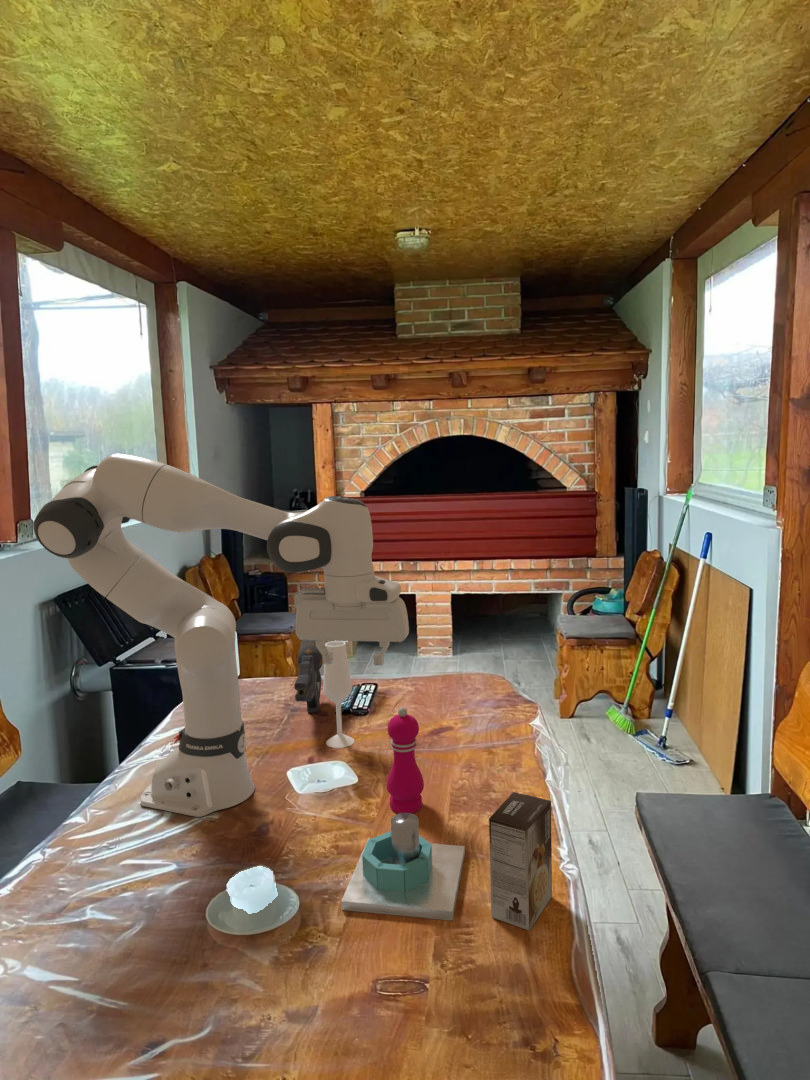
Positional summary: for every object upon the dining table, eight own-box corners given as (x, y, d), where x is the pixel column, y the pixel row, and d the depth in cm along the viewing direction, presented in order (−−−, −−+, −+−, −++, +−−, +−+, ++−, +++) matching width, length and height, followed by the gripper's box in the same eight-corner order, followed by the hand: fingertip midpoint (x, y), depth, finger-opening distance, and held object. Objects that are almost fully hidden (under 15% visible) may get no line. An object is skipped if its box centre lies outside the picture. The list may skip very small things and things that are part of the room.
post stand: (341, 910, 108) (338, 846, 107) (368, 846, 125) (365, 790, 123) (452, 920, 105) (450, 855, 103) (464, 854, 121) (463, 796, 120)
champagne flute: (359, 742, 167) (355, 644, 164) (334, 750, 164) (329, 649, 160) (345, 733, 173) (340, 638, 169) (320, 740, 169) (315, 643, 166)
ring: (358, 887, 111) (357, 866, 111) (373, 848, 121) (372, 829, 121) (424, 893, 109) (424, 872, 109) (435, 853, 119) (434, 834, 119)
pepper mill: (420, 817, 134) (417, 716, 131) (383, 814, 135) (379, 714, 132) (427, 797, 141) (424, 701, 138) (391, 795, 142) (388, 700, 139)
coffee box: (514, 884, 113) (513, 789, 111) (553, 896, 109) (552, 799, 107) (489, 918, 105) (487, 817, 103) (530, 932, 102) (529, 828, 99)
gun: (331, 695, 199) (327, 625, 196) (317, 737, 171) (312, 657, 168) (306, 695, 199) (302, 626, 196) (289, 738, 171) (284, 658, 168)
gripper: (287, 591, 124) (292, 667, 126) (402, 592, 120) (405, 671, 122) (299, 584, 130) (303, 657, 132) (409, 584, 126) (411, 659, 128)
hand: (353, 663), depth 127 cm, fingers open, 8 cm apart
